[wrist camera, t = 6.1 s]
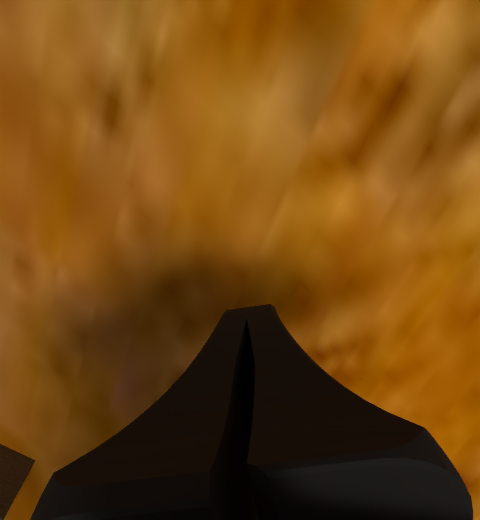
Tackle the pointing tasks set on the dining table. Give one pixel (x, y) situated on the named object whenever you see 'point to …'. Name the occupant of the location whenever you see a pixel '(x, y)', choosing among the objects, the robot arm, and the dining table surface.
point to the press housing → (11, 476)
